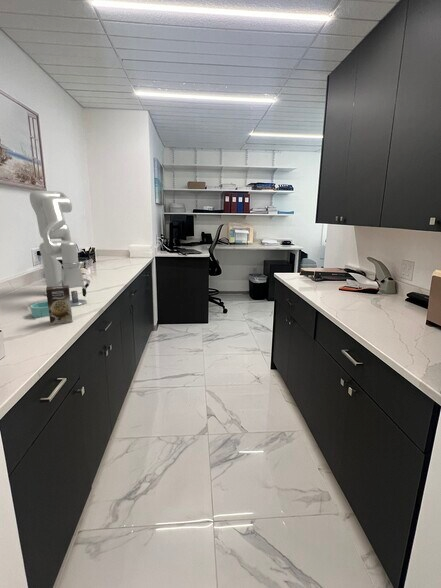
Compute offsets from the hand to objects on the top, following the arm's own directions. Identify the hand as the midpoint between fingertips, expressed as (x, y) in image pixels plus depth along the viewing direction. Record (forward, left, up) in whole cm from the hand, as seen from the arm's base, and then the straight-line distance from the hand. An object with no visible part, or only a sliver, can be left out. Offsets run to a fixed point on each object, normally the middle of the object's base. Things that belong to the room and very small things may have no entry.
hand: (74, 297), depth 165 cm
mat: (0, 0, -4) cm, 4 cm away
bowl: (+9, -16, -4) cm, 19 cm away
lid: (0, 0, -3) cm, 3 cm away
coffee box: (+25, -12, -4) cm, 28 cm away
